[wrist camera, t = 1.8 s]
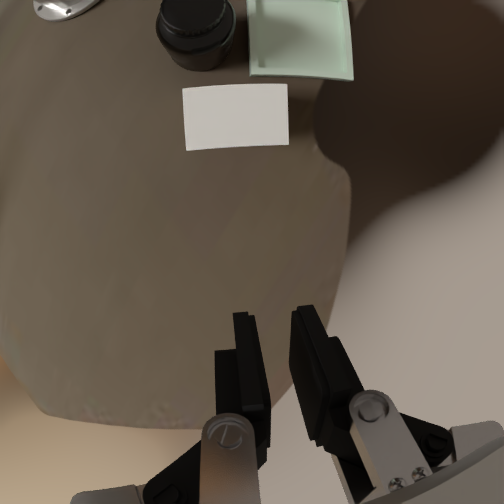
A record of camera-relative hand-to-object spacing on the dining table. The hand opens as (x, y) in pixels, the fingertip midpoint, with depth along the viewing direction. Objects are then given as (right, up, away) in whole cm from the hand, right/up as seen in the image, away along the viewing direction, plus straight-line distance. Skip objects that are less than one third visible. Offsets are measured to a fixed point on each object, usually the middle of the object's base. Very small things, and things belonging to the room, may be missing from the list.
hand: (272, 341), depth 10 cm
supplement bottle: (-6, +26, +15) cm, 31 cm away
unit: (-3, +18, +19) cm, 26 cm away
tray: (+5, +28, +15) cm, 32 cm away
